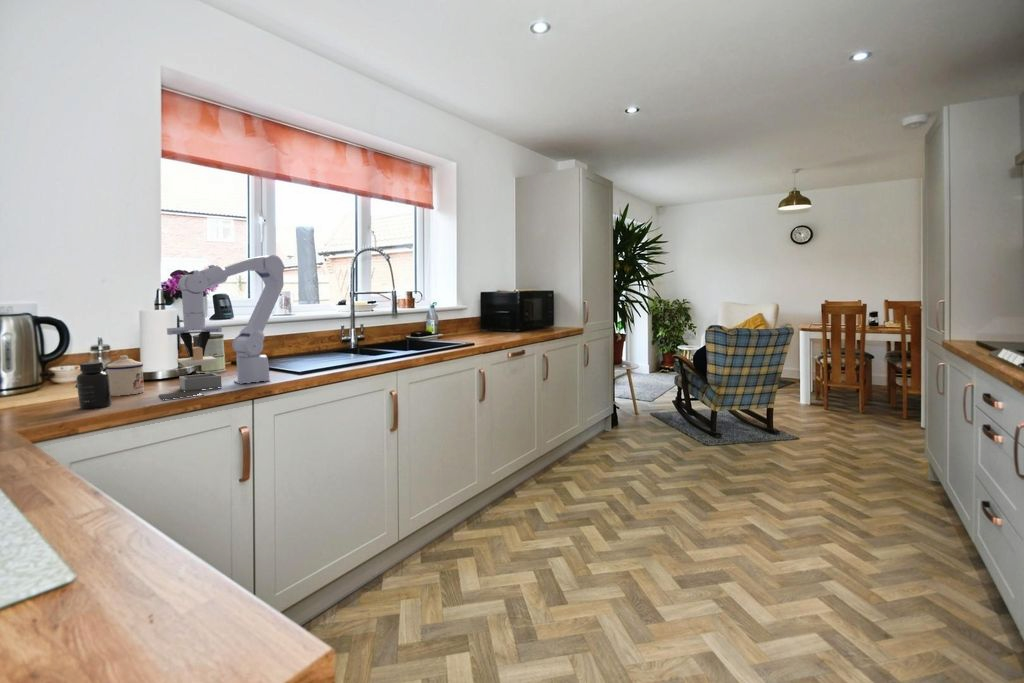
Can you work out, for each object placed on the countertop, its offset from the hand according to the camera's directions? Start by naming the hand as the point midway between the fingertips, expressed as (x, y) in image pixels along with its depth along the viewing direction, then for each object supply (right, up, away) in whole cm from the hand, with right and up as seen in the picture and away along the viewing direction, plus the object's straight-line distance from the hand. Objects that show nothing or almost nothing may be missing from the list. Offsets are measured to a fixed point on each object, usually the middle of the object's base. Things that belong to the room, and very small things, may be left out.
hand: (196, 356), depth 165 cm
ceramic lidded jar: (-19, -11, -4) cm, 22 cm away
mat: (+1, -11, -9) cm, 15 cm away
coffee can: (-17, -7, +38) cm, 42 cm away
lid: (0, -2, 0) cm, 2 cm away
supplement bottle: (-13, -13, -23) cm, 30 cm away
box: (0, -10, +2) cm, 10 cm away
